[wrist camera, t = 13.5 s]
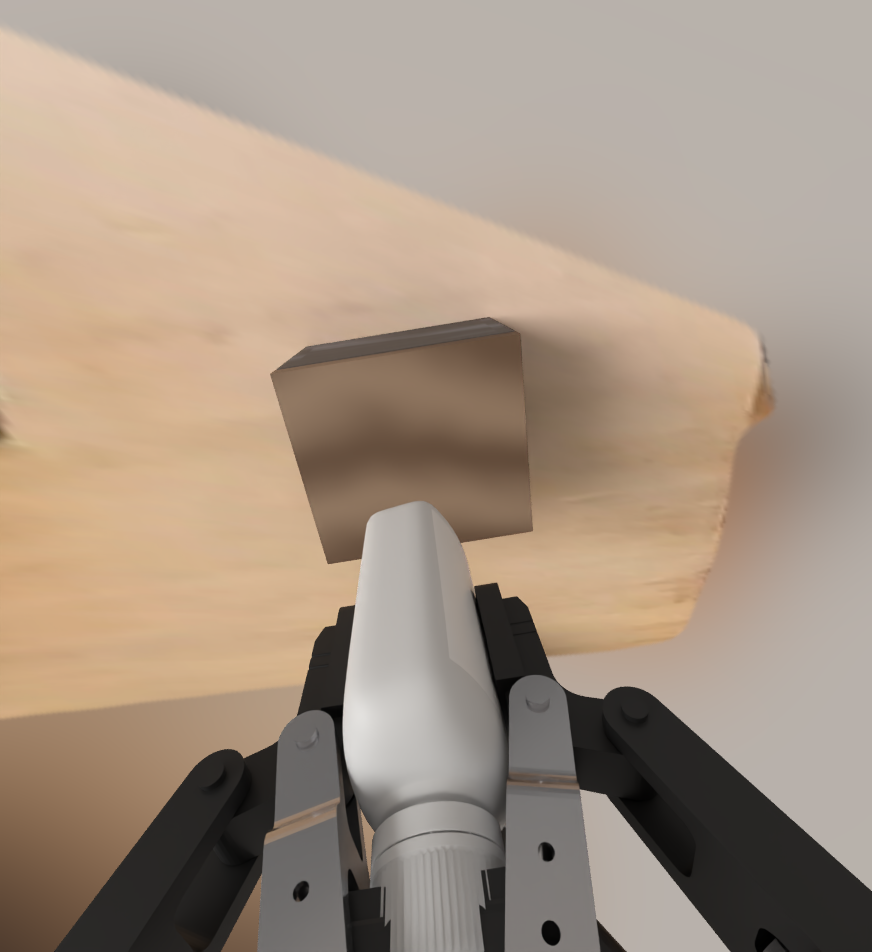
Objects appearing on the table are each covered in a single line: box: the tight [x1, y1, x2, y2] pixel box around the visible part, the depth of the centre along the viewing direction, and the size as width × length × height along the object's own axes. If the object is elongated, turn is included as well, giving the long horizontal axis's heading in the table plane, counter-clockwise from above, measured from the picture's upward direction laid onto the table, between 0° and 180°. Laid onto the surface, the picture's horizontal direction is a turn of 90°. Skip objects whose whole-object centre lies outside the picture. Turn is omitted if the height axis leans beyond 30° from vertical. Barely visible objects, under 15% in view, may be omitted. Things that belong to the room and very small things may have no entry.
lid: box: [270, 331, 533, 564], centre depth 26 cm, size 12×13×1 cm
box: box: [277, 317, 515, 370], centre depth 30 cm, size 12×13×8 cm
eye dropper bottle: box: [343, 501, 509, 952], centre depth 11 cm, size 4×6×12 cm
